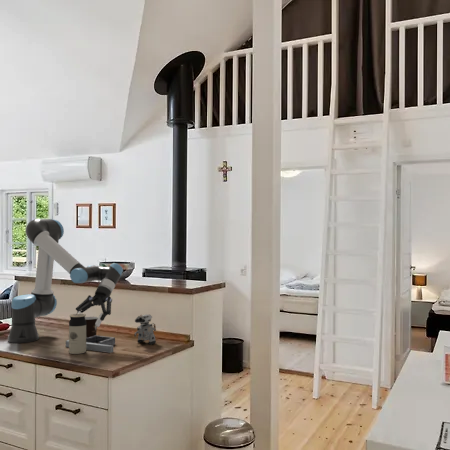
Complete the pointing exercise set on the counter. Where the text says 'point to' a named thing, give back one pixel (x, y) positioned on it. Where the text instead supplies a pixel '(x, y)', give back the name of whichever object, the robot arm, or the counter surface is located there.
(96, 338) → the grey square frame
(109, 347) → the rail
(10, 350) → the counter surface
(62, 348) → the counter surface
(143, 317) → the figurine
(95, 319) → the coffee mug
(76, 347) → the travel mug
